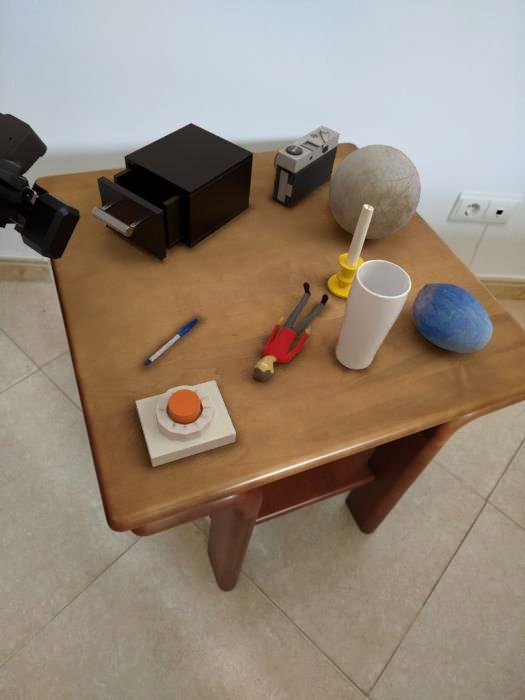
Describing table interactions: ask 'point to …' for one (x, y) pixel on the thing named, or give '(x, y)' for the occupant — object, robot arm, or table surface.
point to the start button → (184, 406)
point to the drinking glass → (371, 311)
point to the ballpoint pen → (172, 341)
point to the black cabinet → (200, 176)
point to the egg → (451, 318)
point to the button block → (185, 425)
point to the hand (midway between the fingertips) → (63, 219)
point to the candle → (351, 256)
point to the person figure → (286, 338)
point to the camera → (304, 165)
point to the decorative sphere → (375, 189)
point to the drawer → (143, 210)
